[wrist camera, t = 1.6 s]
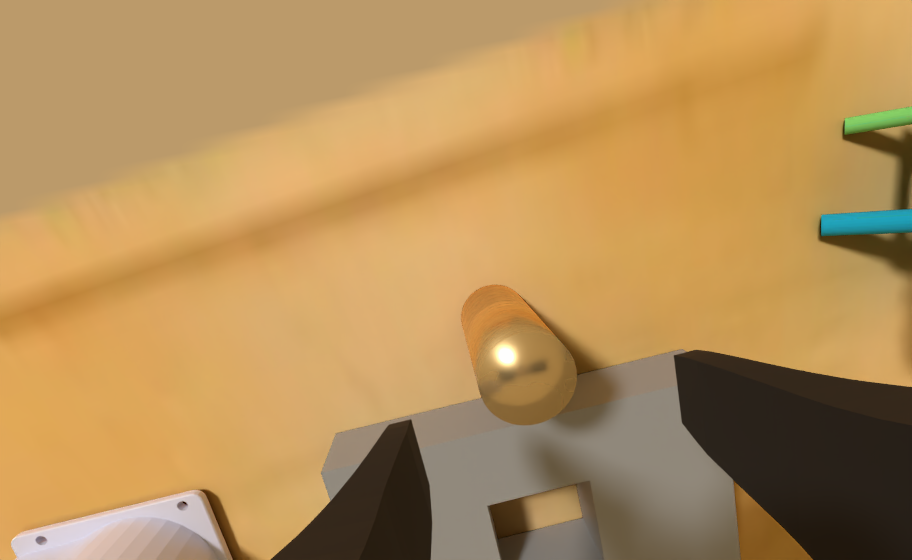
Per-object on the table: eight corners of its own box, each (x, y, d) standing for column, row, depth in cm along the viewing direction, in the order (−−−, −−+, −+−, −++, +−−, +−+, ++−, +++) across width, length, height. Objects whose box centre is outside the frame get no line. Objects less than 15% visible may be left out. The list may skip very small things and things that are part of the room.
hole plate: (396, 620, 23) (392, 681, 21) (335, 433, 21) (321, 472, 18) (704, 542, 24) (743, 591, 21) (682, 349, 21) (722, 374, 18)
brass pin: (469, 355, 21) (490, 435, 14) (454, 293, 20) (468, 346, 13) (532, 339, 21) (584, 412, 14) (519, 277, 20) (568, 322, 13)
